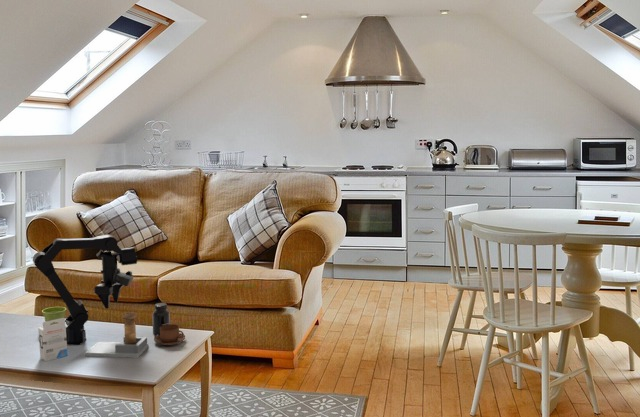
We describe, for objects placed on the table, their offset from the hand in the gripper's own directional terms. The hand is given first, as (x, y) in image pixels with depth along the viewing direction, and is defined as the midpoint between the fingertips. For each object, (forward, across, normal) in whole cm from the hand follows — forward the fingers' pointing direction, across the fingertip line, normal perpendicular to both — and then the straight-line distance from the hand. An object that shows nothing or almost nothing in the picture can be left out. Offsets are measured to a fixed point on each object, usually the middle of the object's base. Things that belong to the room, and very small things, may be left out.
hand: (111, 305), depth 273 cm
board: (+13, -16, -8) cm, 22 cm away
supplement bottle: (+13, +6, -18) cm, 23 cm away
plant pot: (+13, +6, +27) cm, 31 cm away
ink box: (+13, -24, +13) cm, 30 cm away
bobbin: (+12, -16, -13) cm, 24 cm away
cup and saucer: (+13, -4, -25) cm, 28 cm away
